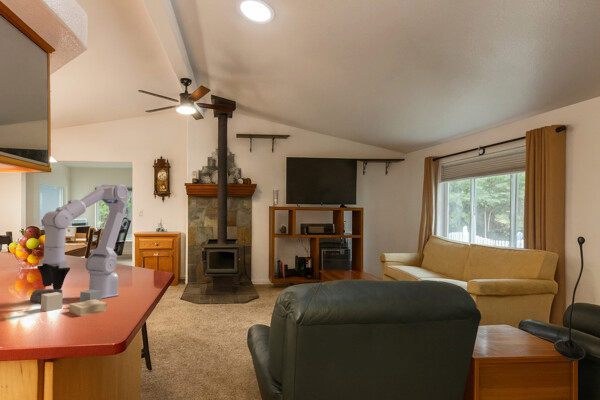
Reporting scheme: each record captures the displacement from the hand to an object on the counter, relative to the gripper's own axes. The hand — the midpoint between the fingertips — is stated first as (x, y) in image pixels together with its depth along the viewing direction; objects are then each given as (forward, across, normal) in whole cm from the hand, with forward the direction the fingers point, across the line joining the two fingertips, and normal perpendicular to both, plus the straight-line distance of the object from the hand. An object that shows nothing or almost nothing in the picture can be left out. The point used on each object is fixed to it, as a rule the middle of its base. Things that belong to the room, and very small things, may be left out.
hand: (52, 287), depth 116 cm
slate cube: (+7, +5, +10) cm, 13 cm away
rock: (+8, -15, +4) cm, 17 cm away
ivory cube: (+7, 0, 0) cm, 7 cm away
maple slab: (+8, +12, +6) cm, 15 cm away
